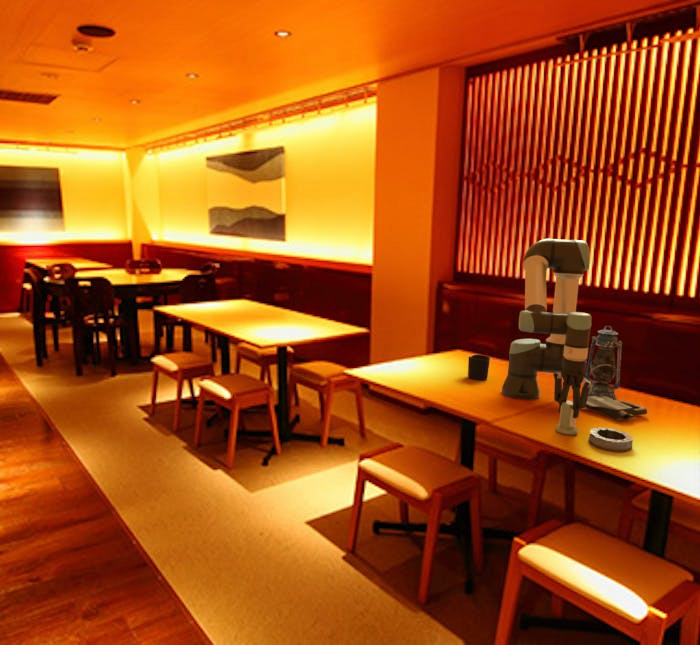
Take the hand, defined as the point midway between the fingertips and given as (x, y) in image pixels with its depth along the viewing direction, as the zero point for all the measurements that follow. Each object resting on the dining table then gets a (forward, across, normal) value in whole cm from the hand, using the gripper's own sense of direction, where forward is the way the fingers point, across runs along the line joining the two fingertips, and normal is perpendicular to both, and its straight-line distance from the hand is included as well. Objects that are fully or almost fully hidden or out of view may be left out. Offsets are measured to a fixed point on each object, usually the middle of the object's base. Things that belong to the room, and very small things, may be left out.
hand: (567, 424), depth 192 cm
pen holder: (+3, -62, +25) cm, 67 cm away
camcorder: (+3, -2, +34) cm, 34 cm away
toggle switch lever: (+2, 0, 0) cm, 2 cm away
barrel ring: (+3, +14, +3) cm, 15 cm away
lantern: (+3, -18, +52) cm, 55 cm away
